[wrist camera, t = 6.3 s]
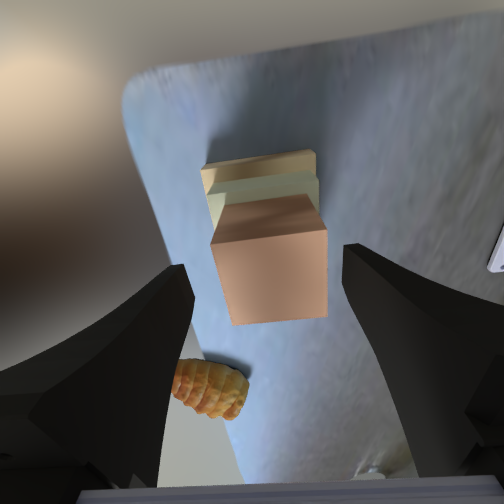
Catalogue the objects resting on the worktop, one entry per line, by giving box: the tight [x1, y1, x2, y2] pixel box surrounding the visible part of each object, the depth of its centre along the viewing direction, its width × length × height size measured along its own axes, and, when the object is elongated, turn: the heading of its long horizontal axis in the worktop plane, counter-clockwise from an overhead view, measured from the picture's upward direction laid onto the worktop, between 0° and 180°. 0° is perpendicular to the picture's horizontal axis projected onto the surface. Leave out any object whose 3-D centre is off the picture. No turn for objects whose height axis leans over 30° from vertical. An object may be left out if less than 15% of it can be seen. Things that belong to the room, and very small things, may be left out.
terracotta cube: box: [210, 193, 327, 326], centre depth 12 cm, size 4×4×4 cm
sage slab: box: [207, 170, 319, 229], centre depth 15 cm, size 6×6×2 cm
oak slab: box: [200, 149, 316, 230], centre depth 17 cm, size 7×7×2 cm
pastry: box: [171, 358, 249, 420], centre depth 27 cm, size 9×7×4 cm
